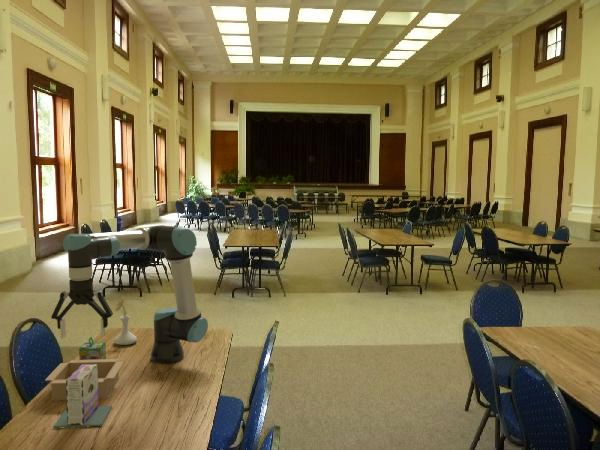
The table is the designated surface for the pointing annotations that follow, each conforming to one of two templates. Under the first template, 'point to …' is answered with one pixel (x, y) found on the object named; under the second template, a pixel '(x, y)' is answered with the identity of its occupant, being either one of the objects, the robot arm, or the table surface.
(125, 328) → the flower in vase
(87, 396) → the candy box
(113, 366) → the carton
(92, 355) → the chalk box
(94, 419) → the mat
